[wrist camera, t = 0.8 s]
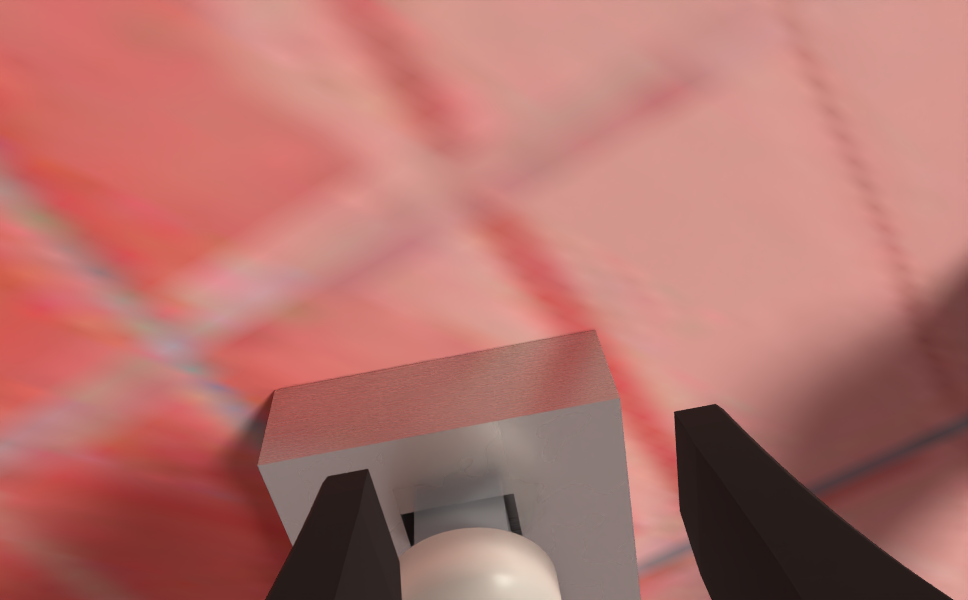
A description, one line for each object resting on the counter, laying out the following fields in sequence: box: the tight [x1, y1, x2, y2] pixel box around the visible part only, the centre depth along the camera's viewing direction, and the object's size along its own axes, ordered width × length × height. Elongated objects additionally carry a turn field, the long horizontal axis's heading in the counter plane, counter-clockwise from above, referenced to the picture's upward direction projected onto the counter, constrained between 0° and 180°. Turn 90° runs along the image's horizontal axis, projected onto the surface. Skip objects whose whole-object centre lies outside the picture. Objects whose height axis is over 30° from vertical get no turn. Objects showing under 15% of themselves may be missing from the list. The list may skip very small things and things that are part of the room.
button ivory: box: [399, 495, 562, 600], centre depth 21 cm, size 4×4×4 cm
